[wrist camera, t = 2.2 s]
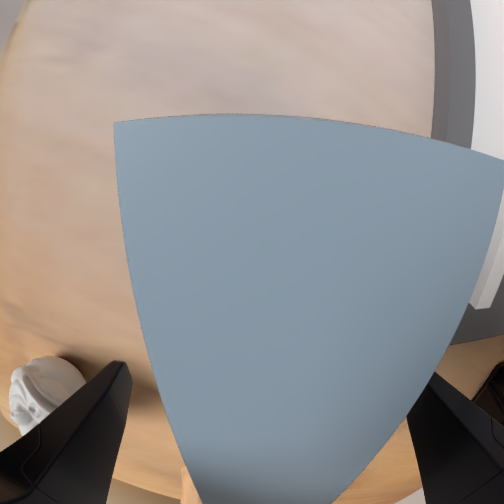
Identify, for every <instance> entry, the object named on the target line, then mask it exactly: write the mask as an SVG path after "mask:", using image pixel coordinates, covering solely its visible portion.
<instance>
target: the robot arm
mask: <svg viewBox="0 0 504 504" xmlns="http://www.w3.org/2000/svg"><path fill="white" fill-rule="evenodd" d="M131 389H132V377H131V374H130V372H129V369H128V366H127V364H126V362H124V361H118V360H113V361H111V362H110V363H109V364H108V365H107V366H105V367H104V368H103V369H102V370H101V371H100V372H98V373H97V374H96V375H95V376H94V377H92V378H91V379H90V380H89V381H88V382H87V383H85V384H84V385H83V386H82V387H81V388H79V389H78V390H77V391H76V392H75V393H74V394H72V395H71V396H70V397H69V398H68V399H67V400H65V401H64V402H63V403H62V404H61V405H59V406H58V407H57V408H56V409H55V410H54V411H52V412H51V413H50V414H49V415H48V416H47V417H45V418H44V419H43V420H42V421H41V422H40V424H39V423H38V424H37V425H36V426H35V427H34V428H32V429H31V430H30V431H29V432H28V433H26V434H25V435H24V436H23V437H21V438H20V439H19V440H17V441H16V442H14V443H13V444H12V445H10V446H9V447H7V448H6V449H4V450H3V451H1V452H0V504H106V501H107V496H108V492H109V488H110V483H111V479H112V475H113V471H114V467H115V463H116V459H117V455H118V451H119V447H120V444H121V440H122V436H123V433H124V429H125V425H126V419H127V413H128V407H129V400H130V395H131ZM406 417H407V422H408V427H409V430H410V434H411V438H412V442H413V446H414V450H415V454H416V458H417V462H418V467H419V471H420V476H421V481H422V485H423V490H424V496H425V501H426V504H504V363H501V364H499V365H498V366H497V367H496V368H495V369H494V371H493V373H492V374H491V376H490V377H489V378H488V380H487V381H486V383H485V384H484V386H483V387H482V388H481V390H480V391H479V393H478V394H477V395H476V397H475V398H474V399H473V401H471V400H469V399H468V398H467V397H466V396H464V395H463V394H462V393H461V392H459V391H458V390H457V389H456V388H454V387H453V386H452V385H451V384H449V383H448V382H447V381H446V380H444V379H443V378H442V377H441V376H439V375H438V374H437V373H436V372H434V373H433V375H432V376H431V378H430V380H429V381H428V383H427V385H426V386H425V388H424V390H423V391H422V393H421V394H420V396H419V397H418V399H417V401H416V402H415V404H414V405H413V407H412V408H411V410H410V411H409V412H408V414H407V415H406Z"/></svg>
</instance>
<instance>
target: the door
mask: <svg viewBox="0 0 504 504" xmlns="http://www.w3.org/2000/svg"><path fill="white" fill-rule="evenodd" d="M114 143H115V160H116V174H117V185H118V195H119V205H120V213H121V221H122V228H123V235H124V242H125V249H126V255H127V261H128V267H129V272H130V278H131V283H132V288H133V293H134V298H135V302H136V307H137V312H138V316H139V320H140V325H141V329H142V333H143V337H144V341H145V345H146V349H147V352H148V356H149V360H150V363H151V367H152V370H153V374H154V377H155V380H156V384H157V387H158V390H159V393H160V397H161V400H162V403H163V406H164V409H165V412H166V415H167V418H168V420H169V423H170V426H171V429H172V432H173V434H174V437H175V440H176V442H177V445H178V448H179V450H180V453H181V455H182V458H183V460H184V463H185V465H186V467H187V470H188V472H189V475H190V477H191V479H192V481H193V484H194V486H195V488H196V490H197V493H198V495H199V497H200V499H201V501H202V503H203V504H331V503H332V502H334V501H335V500H336V499H337V498H338V497H339V496H340V495H341V494H342V493H343V492H344V491H345V490H346V488H347V487H348V486H349V485H350V484H351V483H352V482H353V481H354V480H355V479H356V478H357V477H358V476H359V475H360V473H361V472H362V471H363V470H364V469H365V468H366V467H367V466H368V464H369V463H370V462H371V461H372V460H373V459H374V457H375V456H376V455H377V454H378V452H379V451H380V450H381V449H382V448H383V446H384V445H385V444H386V442H387V441H388V440H389V439H390V437H391V436H392V435H393V433H394V432H395V431H396V429H397V428H398V427H399V425H400V424H401V422H402V421H403V420H404V418H405V417H406V415H407V414H408V412H409V411H410V410H411V408H412V407H413V405H414V404H415V402H416V401H417V399H418V397H419V396H420V394H421V393H422V391H423V390H424V388H425V386H426V385H427V383H428V381H429V380H430V378H431V376H432V375H433V373H434V371H435V370H436V368H437V366H438V364H439V362H440V361H441V359H442V357H443V355H444V353H445V351H446V349H447V348H448V346H449V344H450V342H451V340H452V338H453V336H454V334H455V332H456V330H457V327H458V325H459V323H460V321H461V319H462V317H463V314H464V312H465V310H466V308H467V305H468V303H469V300H470V298H471V296H472V293H473V291H474V288H475V286H476V283H477V280H478V278H479V275H480V272H481V269H482V267H483V264H484V261H485V258H486V255H487V252H488V248H489V245H490V242H491V239H492V235H493V232H494V228H495V224H496V220H497V217H498V213H499V208H500V204H501V200H502V195H503V190H504V160H501V159H499V158H496V157H493V156H490V155H487V154H484V153H481V152H478V151H475V150H472V149H468V148H465V147H462V146H458V145H455V144H451V143H447V142H444V141H440V140H436V139H432V138H428V137H424V136H420V135H415V134H411V133H406V132H401V131H397V130H392V129H386V128H381V127H376V126H370V125H364V124H357V123H351V122H344V121H336V120H328V119H320V118H310V117H298V116H284V115H265V114H199V115H182V116H168V117H157V118H147V119H138V120H130V121H122V122H115V123H114Z"/></svg>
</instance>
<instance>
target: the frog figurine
mask: <svg viewBox="0 0 504 504" xmlns="http://www.w3.org/2000/svg"><path fill="white" fill-rule="evenodd" d="M11 382H12V385H11V387H10V390H9V406H10V409H11V414H10V418H11V419H12V420H13V421H14V422H15V423H16V424H18V426H19V428H20V432H21V434H22V436H24V435H25V434H26V433H28V432H29V431H30V430H31V429H32V428H34V427H35V426H36V425H37V424H38V423H39V424H40V422H41V421H42V420H43V419H44V418H45V417H47V416H48V415H49V414H50V413H51V412H52V411H54V410H55V409H56V408H57V407H58V406H59V405H61V404H62V403H63V402H64V401H65V400H67V399H68V398H69V397H70V396H71V395H72V394H74V393H75V392H76V391H77V390H78V389H79V388H81V387H82V386H83V385H84V384H85V383H86V381H85V379H84V377H83V376H82V374H81V373H80V371H79V370H78V369H77V368H76V367H75V366H74V365H72V364H71V363H70V362H68V361H66V360H64V359H62V358H59V357H54V356H45V357H41V358H36V359H33V360H32V361H30V362H29V363H28V364H26V365H24V366H20V367H18V368H17V369H15V370H14V372H13V374H12V377H11Z"/></svg>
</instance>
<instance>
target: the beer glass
mask: <svg viewBox="0 0 504 504" xmlns="http://www.w3.org/2000/svg"><path fill="white" fill-rule="evenodd" d="M181 479H182V498H181V503H180V504H203V503H202V501H201V499H200V497H199V495H198V493H197V490H196V488H195V486H194V484H193V481H192V479H191V477H190V475H189V472H188V470H187V467H186V466H184V467H182V469H181Z"/></svg>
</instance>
